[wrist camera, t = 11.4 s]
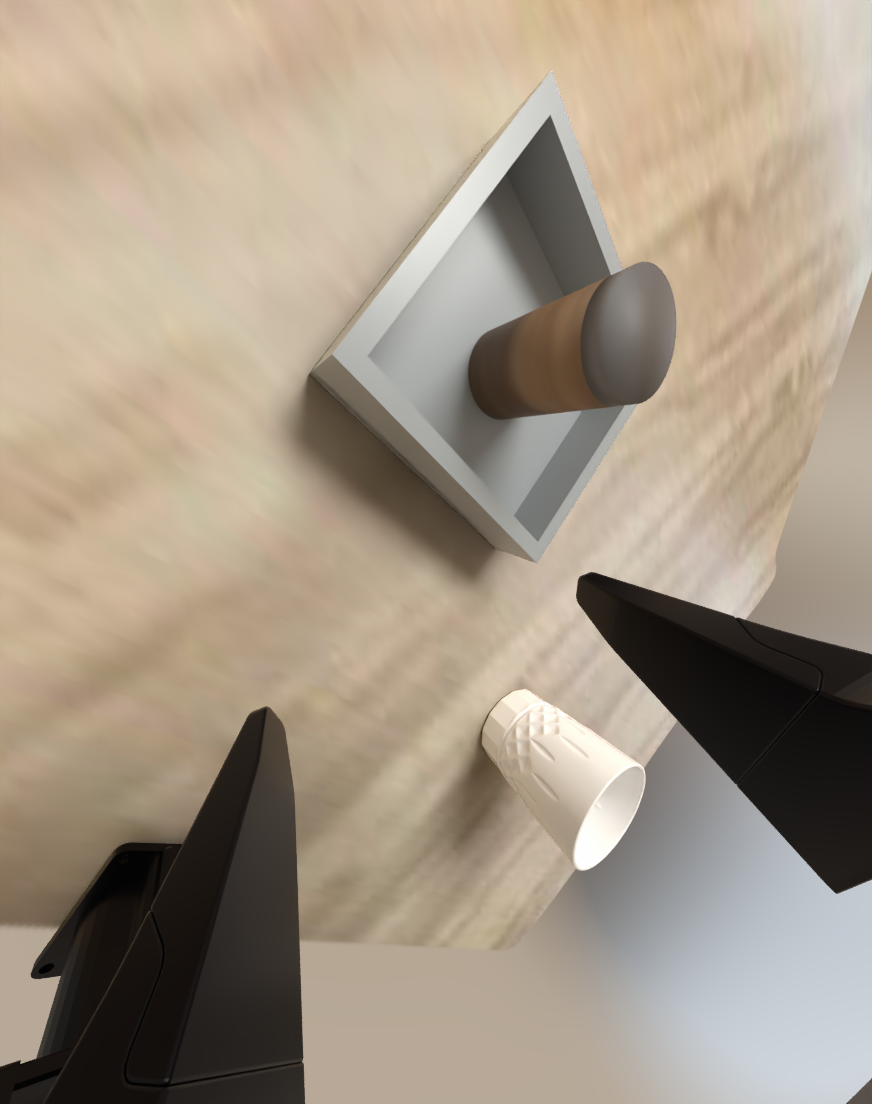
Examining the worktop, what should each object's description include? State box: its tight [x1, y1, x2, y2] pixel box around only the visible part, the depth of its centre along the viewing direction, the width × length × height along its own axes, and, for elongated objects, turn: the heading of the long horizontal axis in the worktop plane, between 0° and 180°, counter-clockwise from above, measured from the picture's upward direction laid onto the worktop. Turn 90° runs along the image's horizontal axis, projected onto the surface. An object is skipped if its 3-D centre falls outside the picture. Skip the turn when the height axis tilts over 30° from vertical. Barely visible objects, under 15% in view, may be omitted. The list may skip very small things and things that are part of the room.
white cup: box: [482, 689, 646, 871], centre depth 27 cm, size 8×8×10 cm
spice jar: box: [468, 262, 676, 420], centre depth 17 cm, size 5×5×8 cm
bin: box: [309, 70, 638, 563], centre depth 20 cm, size 16×16×4 cm
